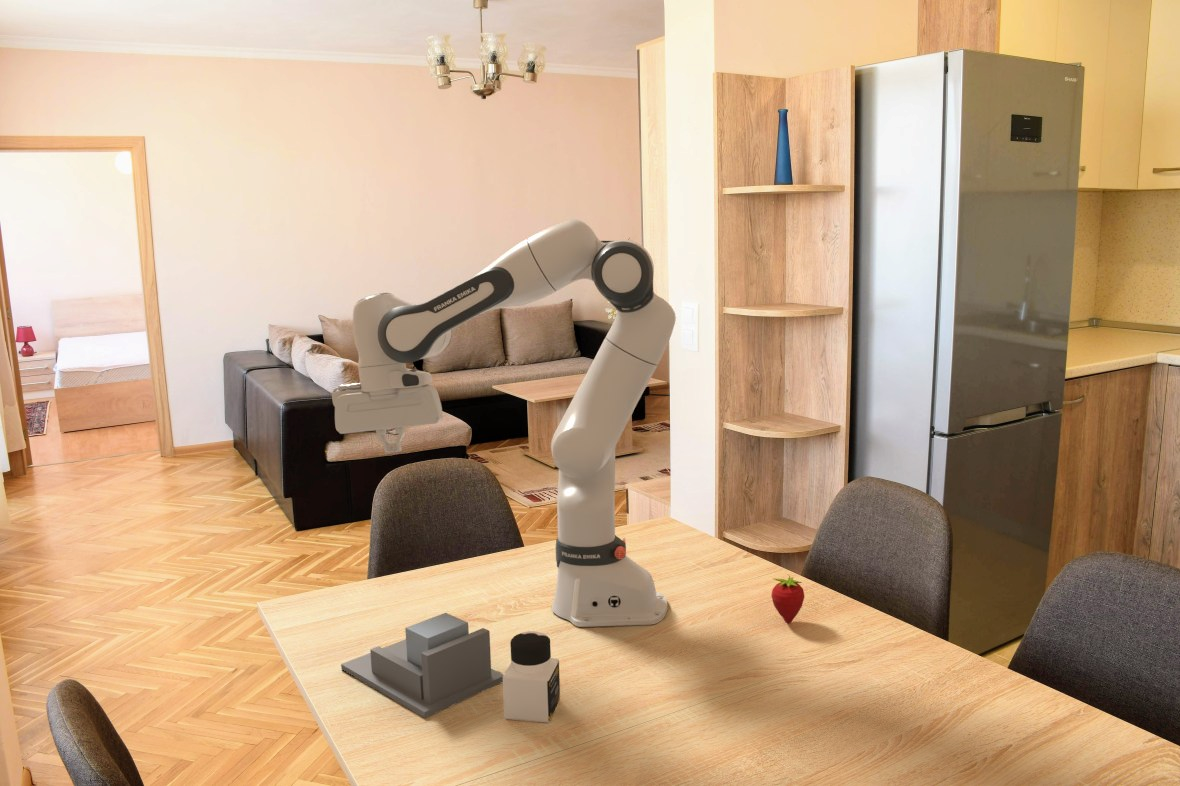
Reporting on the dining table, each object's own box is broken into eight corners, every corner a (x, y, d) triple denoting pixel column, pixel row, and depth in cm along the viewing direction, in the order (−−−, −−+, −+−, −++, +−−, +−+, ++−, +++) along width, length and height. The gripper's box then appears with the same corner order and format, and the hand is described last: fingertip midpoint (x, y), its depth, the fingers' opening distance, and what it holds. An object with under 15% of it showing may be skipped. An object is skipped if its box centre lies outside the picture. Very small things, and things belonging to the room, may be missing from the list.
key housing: (341, 669, 156) (337, 619, 154) (419, 639, 167) (416, 592, 166) (424, 718, 139) (421, 662, 138) (505, 680, 151) (503, 629, 149)
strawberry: (767, 628, 168) (768, 576, 166) (775, 613, 175) (775, 562, 173) (800, 633, 166) (801, 580, 164) (807, 617, 173) (807, 566, 171)
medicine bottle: (549, 723, 137) (547, 648, 135) (503, 720, 138) (500, 645, 136) (560, 700, 144) (558, 628, 142) (516, 697, 145) (514, 625, 143)
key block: (408, 680, 149) (405, 627, 147) (448, 663, 154) (445, 612, 153) (430, 692, 145) (427, 638, 143) (470, 674, 150) (468, 622, 149)
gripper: (324, 387, 172) (334, 460, 173) (432, 375, 171) (441, 448, 172) (335, 384, 178) (345, 455, 179) (439, 373, 177) (448, 443, 178)
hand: (393, 451), depth 175 cm, fingers closed
